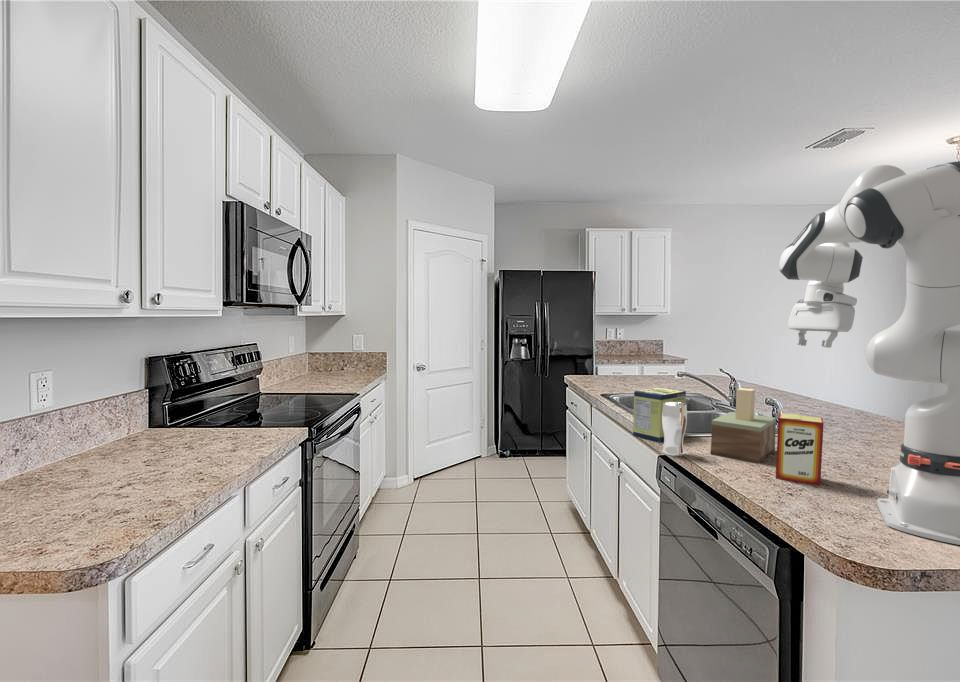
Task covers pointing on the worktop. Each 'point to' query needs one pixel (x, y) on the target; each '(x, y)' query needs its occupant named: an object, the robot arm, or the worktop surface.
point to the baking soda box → (799, 448)
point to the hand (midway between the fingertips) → (813, 346)
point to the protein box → (652, 411)
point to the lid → (744, 414)
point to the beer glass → (674, 427)
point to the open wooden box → (743, 443)
